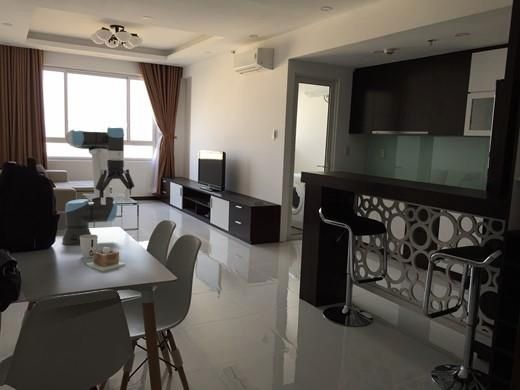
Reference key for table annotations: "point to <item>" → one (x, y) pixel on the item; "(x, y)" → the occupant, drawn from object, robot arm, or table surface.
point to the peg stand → (103, 268)
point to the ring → (106, 258)
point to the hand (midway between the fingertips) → (115, 203)
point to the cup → (88, 245)
